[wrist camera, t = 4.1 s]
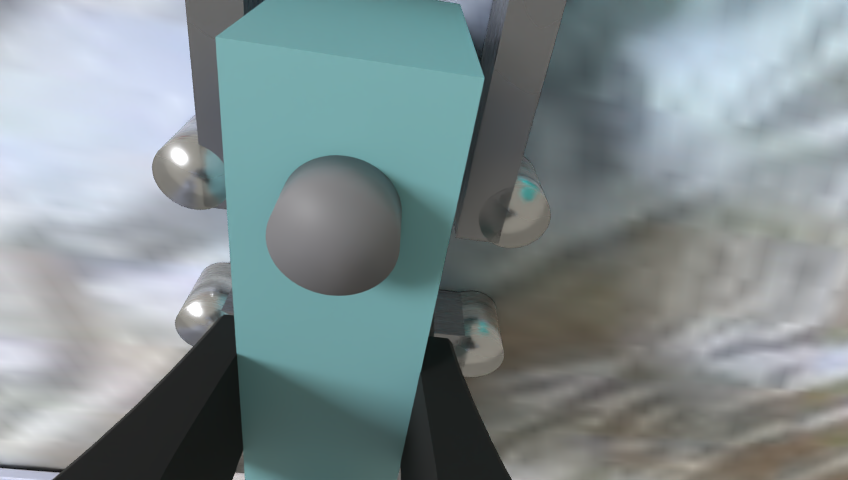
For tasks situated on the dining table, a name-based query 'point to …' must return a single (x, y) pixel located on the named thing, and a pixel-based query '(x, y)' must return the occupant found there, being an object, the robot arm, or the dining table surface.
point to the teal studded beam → (339, 220)
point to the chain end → (453, 318)
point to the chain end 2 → (490, 145)
